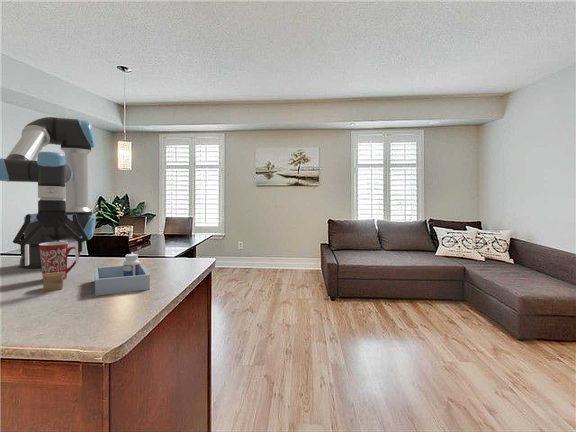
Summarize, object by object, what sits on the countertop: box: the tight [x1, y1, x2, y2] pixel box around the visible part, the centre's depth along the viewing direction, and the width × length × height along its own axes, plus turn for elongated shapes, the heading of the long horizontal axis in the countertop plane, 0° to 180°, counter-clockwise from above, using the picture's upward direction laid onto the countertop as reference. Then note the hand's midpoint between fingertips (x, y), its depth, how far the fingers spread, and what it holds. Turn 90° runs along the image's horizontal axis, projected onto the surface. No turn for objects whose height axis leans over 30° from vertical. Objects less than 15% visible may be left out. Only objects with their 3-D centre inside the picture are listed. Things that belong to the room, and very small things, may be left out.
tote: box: [94, 263, 151, 296], centre depth 118 cm, size 20×16×5 cm
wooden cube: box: [42, 272, 64, 292], centre depth 112 cm, size 5×5×5 cm
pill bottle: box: [122, 253, 141, 277], centre depth 119 cm, size 5×5×10 cm
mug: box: [39, 241, 81, 281], centre depth 124 cm, size 13×9×14 cm
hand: (52, 263), depth 111 cm, fingers open, 13 cm apart
